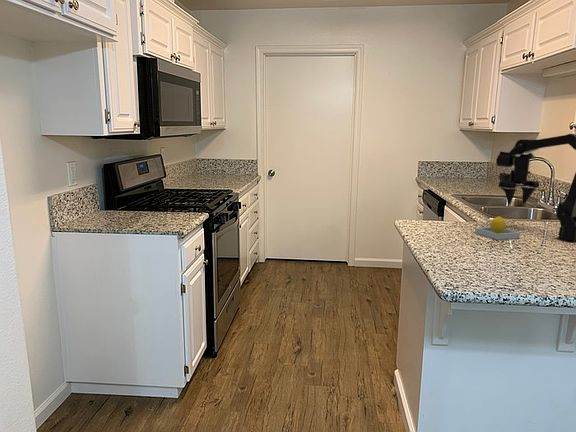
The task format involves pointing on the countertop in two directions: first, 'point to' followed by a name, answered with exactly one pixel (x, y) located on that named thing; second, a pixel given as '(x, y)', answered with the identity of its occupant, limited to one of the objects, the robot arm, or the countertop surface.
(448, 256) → the countertop surface
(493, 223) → the lemon
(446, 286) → the countertop surface
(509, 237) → the dish
